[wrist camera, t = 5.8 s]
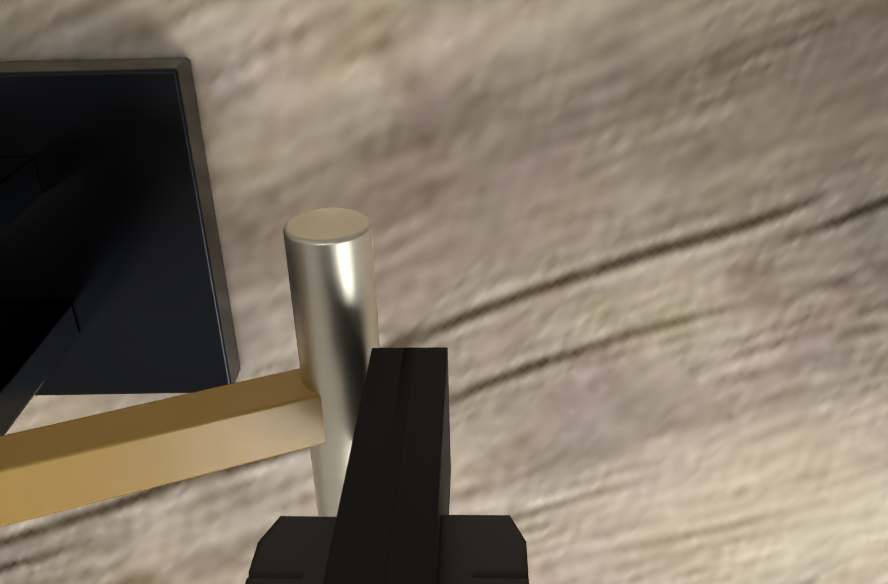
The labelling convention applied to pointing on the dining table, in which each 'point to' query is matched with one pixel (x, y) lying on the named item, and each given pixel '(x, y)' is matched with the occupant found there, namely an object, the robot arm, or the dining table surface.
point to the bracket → (107, 235)
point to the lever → (227, 397)
